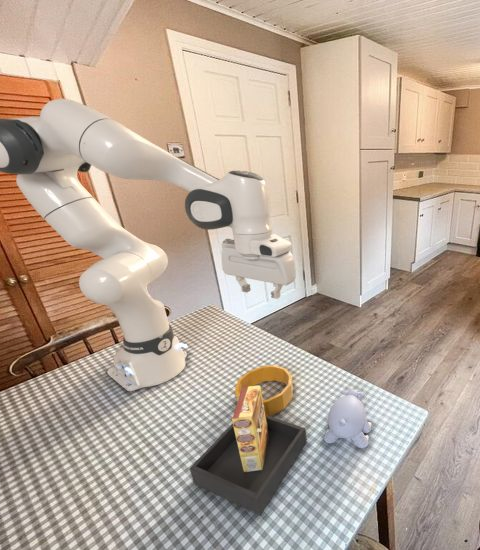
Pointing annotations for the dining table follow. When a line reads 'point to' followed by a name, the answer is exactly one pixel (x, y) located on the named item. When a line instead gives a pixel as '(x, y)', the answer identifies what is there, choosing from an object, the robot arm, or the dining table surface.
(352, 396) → the hippopotamus toy
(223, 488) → the bin
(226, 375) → the dining table surface
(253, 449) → the candy box
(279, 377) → the ring
